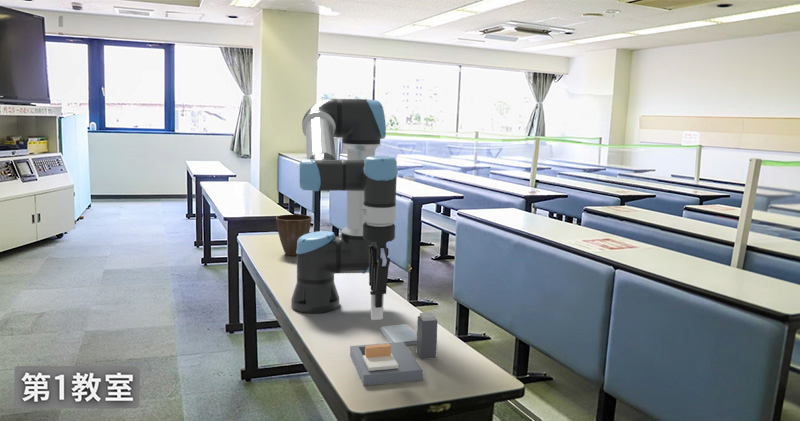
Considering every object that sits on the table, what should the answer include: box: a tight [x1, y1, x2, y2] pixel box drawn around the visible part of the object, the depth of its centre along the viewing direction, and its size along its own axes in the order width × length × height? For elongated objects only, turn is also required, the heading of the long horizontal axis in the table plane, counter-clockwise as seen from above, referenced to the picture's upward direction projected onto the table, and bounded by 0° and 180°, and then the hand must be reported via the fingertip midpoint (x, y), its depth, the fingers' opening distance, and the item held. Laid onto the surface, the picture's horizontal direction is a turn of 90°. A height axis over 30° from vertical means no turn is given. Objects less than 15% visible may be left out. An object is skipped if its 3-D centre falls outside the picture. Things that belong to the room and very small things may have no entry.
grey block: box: [416, 311, 438, 360], centre depth 149 cm, size 4×4×11 cm
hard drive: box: [380, 323, 417, 346], centre depth 163 cm, size 2×8×12 cm
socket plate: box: [349, 342, 424, 386], centre depth 143 cm, size 17×14×2 cm
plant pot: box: [275, 214, 312, 257], centre depth 250 cm, size 15×15×16 cm
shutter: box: [363, 343, 398, 371], centre depth 138 cm, size 7×7×3 cm
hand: (376, 318), depth 141 cm, fingers closed
